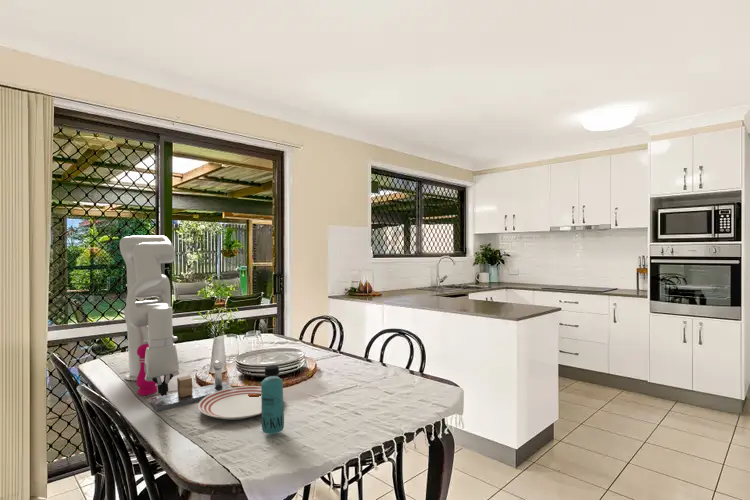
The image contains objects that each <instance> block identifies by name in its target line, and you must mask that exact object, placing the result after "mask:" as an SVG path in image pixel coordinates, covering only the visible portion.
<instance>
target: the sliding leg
mask: <svg viewBox="0 0 750 500" xmlns="http://www.w3.org/2000/svg"><path fill="white" fill-rule="evenodd" d="M176 381H177V383H176V384H177V392H178V395H179V396H180V397H185V396H189V395H193V391H192V389H193V378H192V377H191V376H190V375H184V376H180V377H177V380H176Z"/></svg>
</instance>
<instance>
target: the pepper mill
mask: <svg viewBox="0 0 750 500" xmlns="http://www.w3.org/2000/svg"><path fill="white" fill-rule="evenodd" d="M147 347H149V344H148V340H144V341H143V345H141V346H139V347H138V349H137V355H138V356H139V357H140V358H139V362H140V365H141V366H140V372H139V374H138V377H137V381H136V386H137V387H139V388H138V389H137V391H138V393H137V394H138V396H149V394H150V395H153V394H155V393H156V392H157V393H158V384H157V383H155V382H154V381H146V380H145V377H146V374H145V353H146V348H147Z"/></svg>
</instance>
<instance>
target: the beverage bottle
mask: <svg viewBox="0 0 750 500" xmlns="http://www.w3.org/2000/svg"><path fill="white" fill-rule="evenodd" d="M279 369H280V368H279V366H278V365H268V366H265V368H264V376H266V377H265V378H264V379H263V380H262V381H261V382H260V386H261V403H262V411H261V413H262V414H261V421H260V422H261V430H262V432H263V434H267V435H273V434H277V433H280V432H282V431H283V430H284V428H285V413H284V412H285V409H284V407H285V406H284V386H283V385H284V380H283V379H282V378H280V377H279V376H278V375H280V370H279Z"/></svg>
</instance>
